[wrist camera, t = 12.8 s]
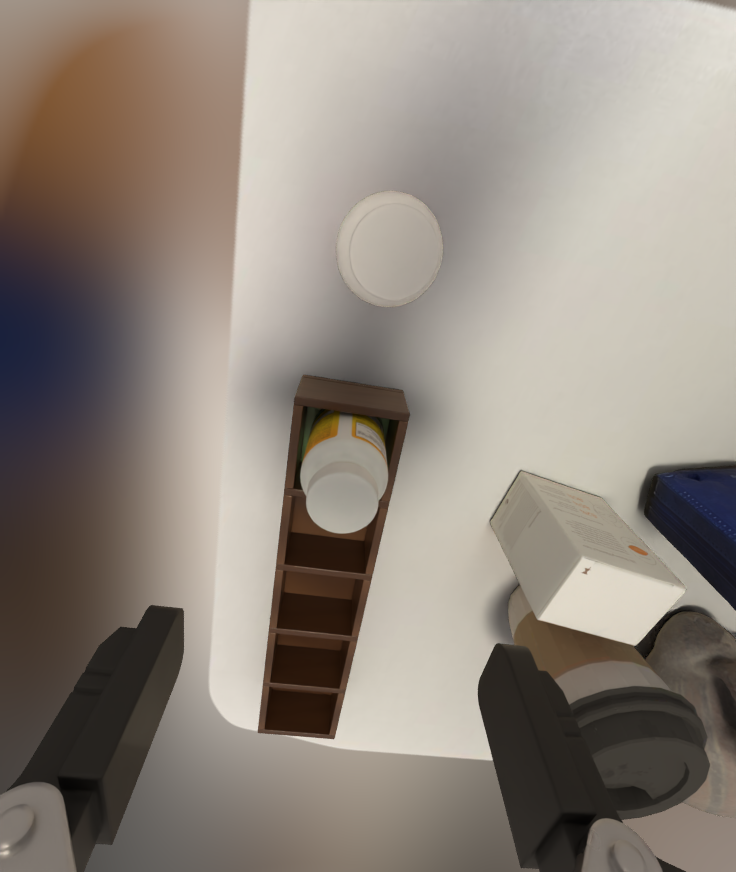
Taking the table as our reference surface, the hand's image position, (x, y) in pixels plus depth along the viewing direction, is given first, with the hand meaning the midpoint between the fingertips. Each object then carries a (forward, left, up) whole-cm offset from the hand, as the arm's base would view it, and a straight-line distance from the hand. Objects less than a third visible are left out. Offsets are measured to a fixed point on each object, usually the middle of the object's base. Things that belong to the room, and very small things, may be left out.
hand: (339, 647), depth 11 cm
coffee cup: (+28, +4, -23) cm, 37 cm away
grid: (+13, -11, -23) cm, 29 cm away
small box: (+18, +8, -23) cm, 30 cm away
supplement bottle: (+3, -2, -22) cm, 22 cm away
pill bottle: (-6, +6, -23) cm, 24 cm away
